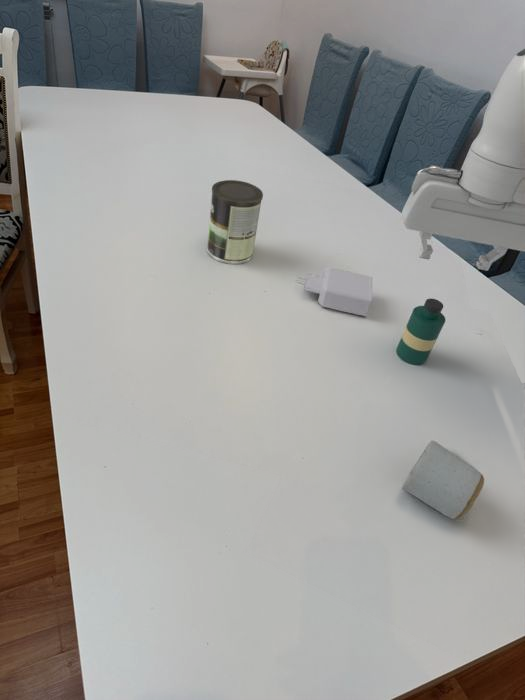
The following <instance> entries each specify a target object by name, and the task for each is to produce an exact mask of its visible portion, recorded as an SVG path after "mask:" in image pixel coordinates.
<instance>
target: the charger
mask: <svg viewBox="0 0 525 700" xmlns="http://www.w3.org/2000/svg"><path fill="white" fill-rule="evenodd" d="M296 279H298V280H295V282H294V283H295V284H296V283H297V284H300V285H304V289H303V290H304V291H305V292H308V293H309V292H310V293H314V294H318V300H317V303H318V304H319V305H320V306H321V307H322V308H327V309H331V310H337V311H340V312H344V313H349V314H353V315H358V316H362V317H366V316H367V314H368V312H369V309H370V307H371V303H372V299H373V276H370V275H367V274H361V273H356V272H353V271H348V270H343V269H340V268H335V267H327V268H325V269H324V272H323V275H322V276H319V275H315V274H312V273H311V274H310V273H307V275H306V277H303V276H300V275H299V276H298V275H297V276H296ZM301 280H303V281H301ZM304 281H305V282H304Z"/></svg>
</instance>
